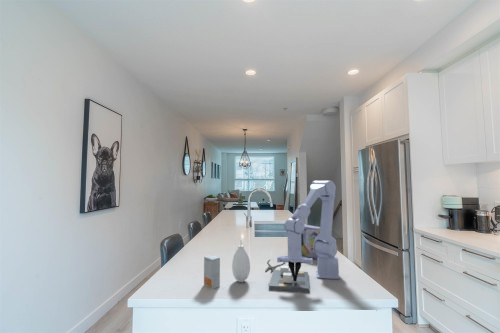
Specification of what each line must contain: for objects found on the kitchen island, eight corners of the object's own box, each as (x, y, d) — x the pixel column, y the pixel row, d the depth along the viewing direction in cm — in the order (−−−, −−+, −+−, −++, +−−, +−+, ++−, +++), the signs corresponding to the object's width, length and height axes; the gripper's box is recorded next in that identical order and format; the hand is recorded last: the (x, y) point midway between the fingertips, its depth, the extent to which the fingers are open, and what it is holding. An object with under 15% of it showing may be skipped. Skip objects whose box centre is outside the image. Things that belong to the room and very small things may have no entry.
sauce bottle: (234, 285, 108) (234, 242, 109) (230, 279, 115) (230, 238, 116) (252, 283, 110) (252, 241, 111) (247, 277, 118) (247, 237, 119)
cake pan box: (293, 253, 157) (292, 223, 158) (298, 251, 160) (298, 222, 161) (318, 260, 142) (318, 228, 143) (324, 258, 145) (323, 227, 146)
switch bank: (307, 275, 120) (307, 271, 120) (309, 292, 101) (309, 288, 101) (273, 272, 123) (273, 269, 123) (268, 289, 104) (268, 285, 104)
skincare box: (203, 285, 109) (203, 256, 109) (211, 282, 112) (211, 254, 112) (211, 289, 104) (212, 259, 105) (220, 286, 107) (220, 257, 108)
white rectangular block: (291, 280, 109) (291, 273, 109) (291, 283, 106) (291, 275, 106) (283, 279, 110) (283, 272, 110) (283, 282, 107) (283, 275, 107)
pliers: (285, 259, 142) (285, 272, 122) (285, 261, 142) (285, 274, 122) (267, 259, 143) (264, 271, 124) (267, 260, 143) (264, 273, 123)
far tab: (288, 272, 118) (288, 266, 118) (288, 274, 115) (288, 268, 115) (280, 272, 119) (280, 265, 119) (280, 274, 116) (280, 267, 116)
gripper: (276, 248, 106) (276, 282, 105) (312, 250, 103) (313, 285, 102) (277, 244, 113) (278, 276, 112) (311, 246, 110) (312, 278, 109)
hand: (294, 280), depth 107 cm, fingers closed
